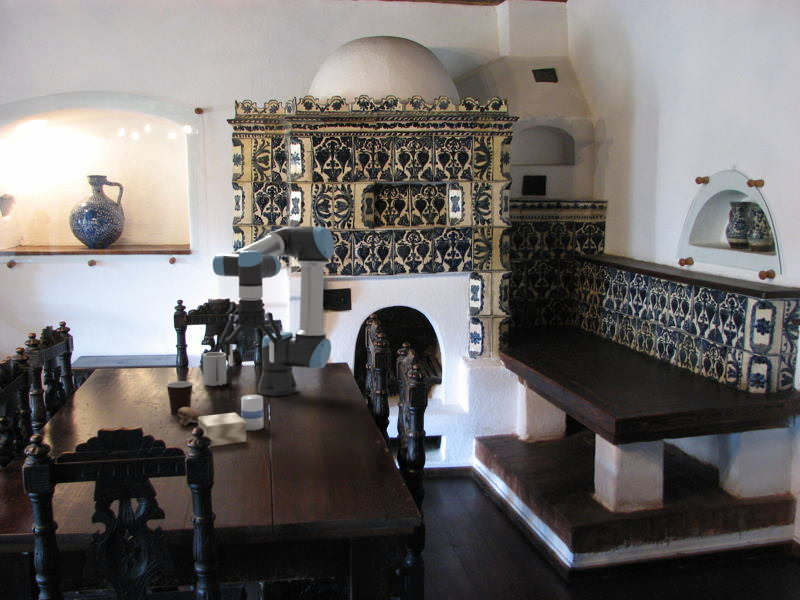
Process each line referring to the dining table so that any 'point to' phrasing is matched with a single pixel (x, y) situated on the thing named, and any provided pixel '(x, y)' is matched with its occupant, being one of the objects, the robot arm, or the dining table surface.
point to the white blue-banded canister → (252, 411)
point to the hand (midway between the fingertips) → (251, 363)
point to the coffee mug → (179, 395)
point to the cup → (214, 368)
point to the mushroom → (188, 415)
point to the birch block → (223, 428)
